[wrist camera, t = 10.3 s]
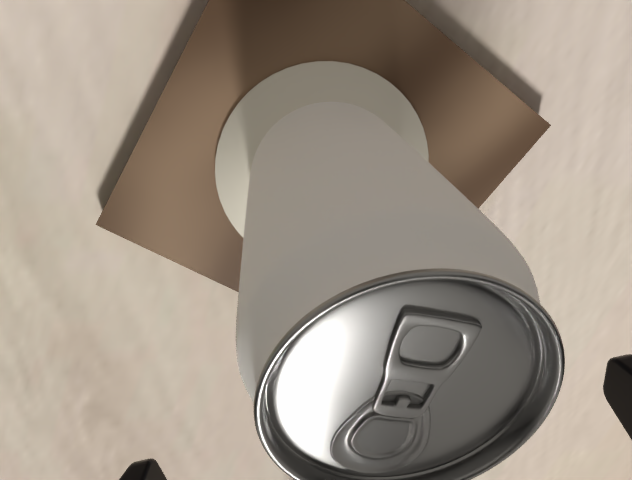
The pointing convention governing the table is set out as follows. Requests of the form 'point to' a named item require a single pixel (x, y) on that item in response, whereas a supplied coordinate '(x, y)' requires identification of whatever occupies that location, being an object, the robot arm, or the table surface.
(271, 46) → the walnut board
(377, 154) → the can
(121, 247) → the table surface
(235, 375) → the table surface
